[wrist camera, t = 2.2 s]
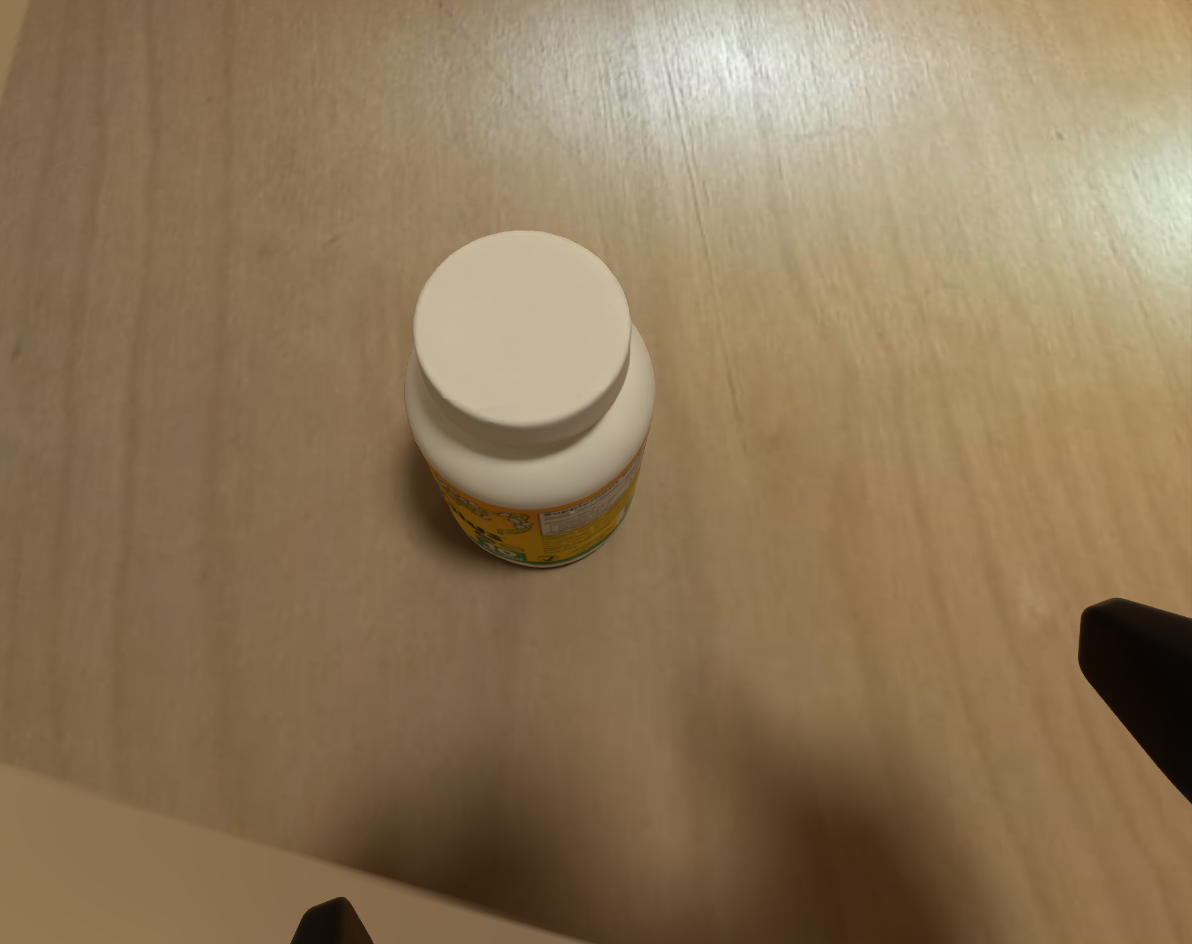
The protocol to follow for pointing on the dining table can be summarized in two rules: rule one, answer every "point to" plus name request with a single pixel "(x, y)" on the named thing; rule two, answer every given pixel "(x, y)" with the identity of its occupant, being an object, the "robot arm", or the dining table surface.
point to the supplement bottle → (530, 395)
